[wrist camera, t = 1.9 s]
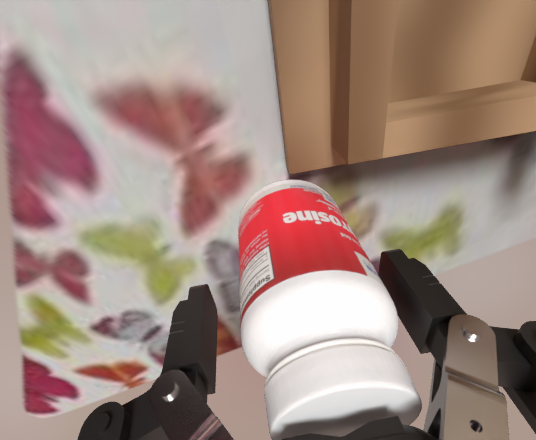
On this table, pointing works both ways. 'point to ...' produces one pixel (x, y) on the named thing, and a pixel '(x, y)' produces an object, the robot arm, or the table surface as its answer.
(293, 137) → the holder
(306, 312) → the pill bottle
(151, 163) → the table surface
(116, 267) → the table surface
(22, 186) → the table surface
